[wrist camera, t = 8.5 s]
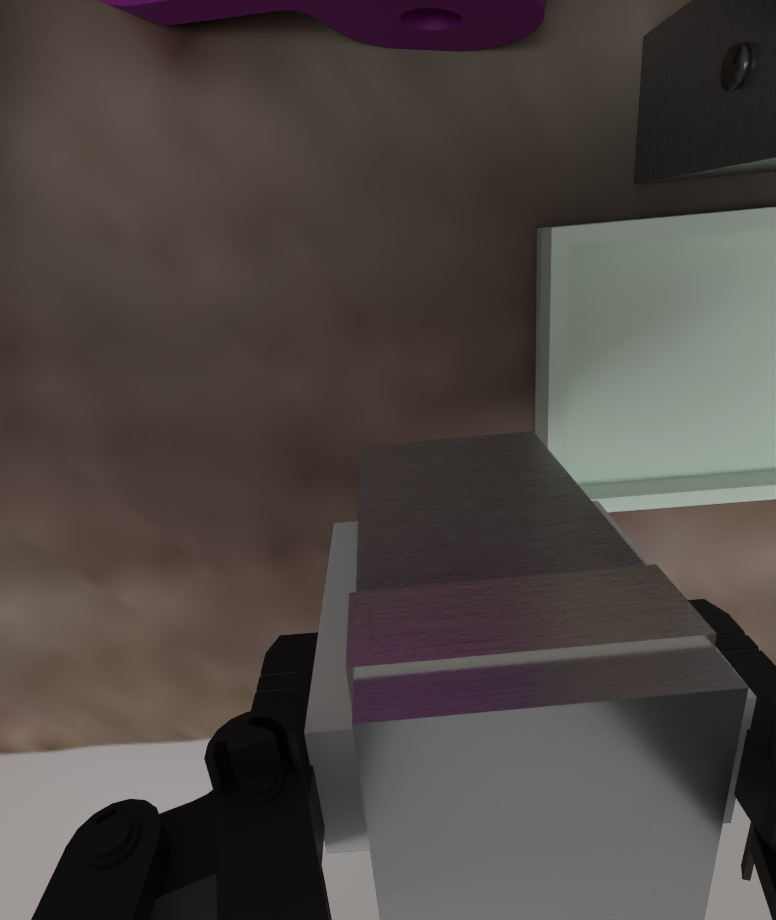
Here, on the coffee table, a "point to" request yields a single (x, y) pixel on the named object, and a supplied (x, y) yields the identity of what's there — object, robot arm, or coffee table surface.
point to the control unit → (708, 92)
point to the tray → (660, 357)
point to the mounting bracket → (373, 18)
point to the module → (527, 697)
